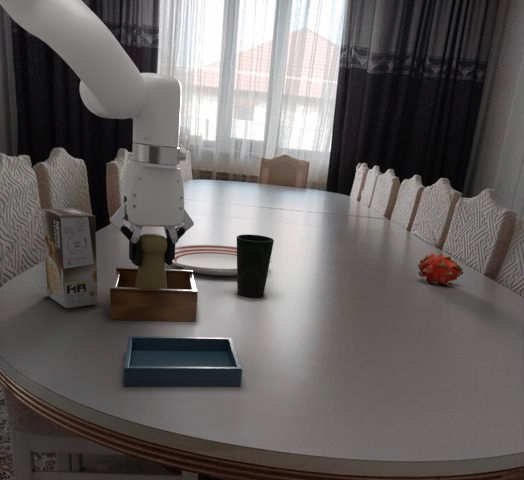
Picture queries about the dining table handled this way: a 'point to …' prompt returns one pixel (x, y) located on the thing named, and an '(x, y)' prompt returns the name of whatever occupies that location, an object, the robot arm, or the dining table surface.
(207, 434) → the dining table surface
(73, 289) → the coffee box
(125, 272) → the brown wooden open box
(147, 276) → the cork
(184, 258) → the dinner plate
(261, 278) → the cup
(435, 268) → the dragon fruit
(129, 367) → the tray
